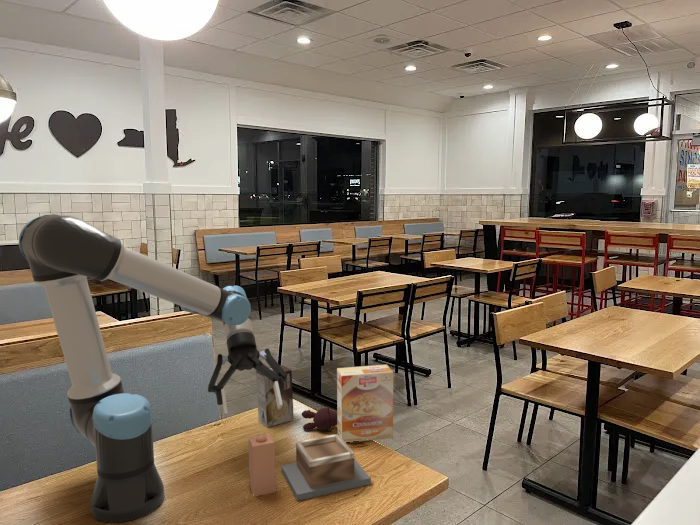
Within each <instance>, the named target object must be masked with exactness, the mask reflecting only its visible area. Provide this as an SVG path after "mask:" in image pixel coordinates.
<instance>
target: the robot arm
mask: <svg viewBox="0 0 700 525" xmlns="http://www.w3.org/2000/svg"><path fill="white" fill-rule="evenodd" d="M18 247H19V250H20V253H21V254H22V256H23V257H24V258H25V259H26V261H27V262H28V265H29V268H30V273H31V276H32V278H33V282H34V283H36V284H37V285H40V286H41V287H43V288H44V291H45V295H46V298H47V302H48V306H49V309H50V312H51V315H52V319H53V323H54V326H55V327H54V328H55V329H56V334H57V337H58V340H59V344H60V348H61V350H62V353H63V358H64V362H65V364H66V368H67V371H68V374H69V378H70V379H69V380H70V381H71V382H70V383H71V386H70V388H69V389H68V390H67V394H66V395H67V398H68V402H69V405H68V417H69V420H70V423H71V424H72V427H73V428H74V430H76V431H77V432H78V433H79V434H80V435H82V436H83V437H84V439H86V440H87V441H88V442H90V444H91V445H92V446H93V447H94V449H95V459H96V468H97V469H96V473H97V475H96V476H97V477H96V480H95V484H94V487H93V490H92V491H93V492H92V494H91V498H90V512H91V515H93V516H94V517H95V518H96V519H95V518H94V517H93V516H92V517H93V518H94V519H95V520H97V519H98V520H97V521H99V520H101V521H100V522H103V521H104V522H103V523H110V522H113V523H112V524H115V523H124V522H129V521H133V520H137V519H140V518H142V517H144V516H147V515H148V514H150V513H152V512H153V511H155V510H156V509H157V508H159V507H160V505H161V504H162V503H163V501H164V499H165V485H164V482H163V480H162V478H161V476H160V473H159V471H158V469H157V467H156V465H155V453H154V452H155V451H154V434H153V430H154V429H153V412H152V409H151V403H150V402H149V400H148V399H147V398H146V397H145V396H143V395H140V394H137V393H135V394H132V393H127V392H126V393H125V390H124V386H123V383H122V379H121V376H120V375H118V374H116V373H113V372H112V368H111V364H110V361H109V357H108V354H107V350H106V347H105V342H104V339H103V335H102V331H101V326H100V324H99V320H98V316H97V313H96V308H95V306H94V301H93V297H92V294H91V290H90V287H89V283H88V282H89V281H88V278H91V279H95V281H96V280H97V281H99V282H103V281H106V280H111V281H113V282H115V283H119V284H121V285H125V286H127V287H130V288H131V289H135V290H137V291H140V292H142V293H145V294H148V295H150V296H153V297H156V298H159V299H161V300H164V301H167V302H169V303H172V304H175V305H178V306H179V307H180V308H181V310H182V311H184V312H188V313H190V314H196V315H198V316H203V317H206V318H210V319H213V320H217V321H219V322H221V323H223V328H224V333H225V334H224V336H225V340H226V347H227V352H228V353H227V355H223V354H222V353H218V354H217V358H216V366H215V367H214V370H213V371H212V372H213V373H212V374H211V375H212V376H211V378H210V381H209V383H208V385H207V392H208V393H214V395H215V397H216V403H217V405H218V406H221V408H222V409H221V410H222V415H223V419H228V415H229V411H228V403H227V399H226V392H225V388H224V387H225V386H226V384H228V382H229V380H230V378H232V376H233V375H234V374H235V372H236V371H239V372H242V371H245V370H252V369H254V370H255V371H256V370H257V371H259V372H261V373H262V374H263V375H265V376H266V377H267V378H269V379H270V380H271V381H272V382H274V385H273V387H274V392H275V397H276V402H277V406H278V409H281V408H282V405H283V403H282V399H281V395H283V392H284V390H283V386H282V382H285V381H286V379H287V376H288V375H287V374H286V372H285V371H284V370H283V369H282V368H281V364H279V363H278V361H277V360H276V359H275V357H273V356H272V353H271V351H270V349H269V348H265V349H264V350H262V351H259V350H258V348H257V342H256V337H255V335H254V333H255V332H254V327H253V324H252V322H253V321H252V318H251V311H252V310H251V309H252V307H251V303H250V301H249V300H248V297H247V294H246V291H245V290H244V288H243V287H241V286H239V285H227V286H225V287H223V288H221V287H219V286H218V285H216V284H215V285H214V284H212V283H211V282H208V281H205V280H204V279H201V278H199V277H197V276H194V275H191V274H189V273H187V272H185V271H182V270H179V269H178V268H175V267H173V266H170V265H168V264H166V263H163V262H161V261H159V260H156V259H155V258H152V257H150V256H147V255H145V254H143V253H140V252H138V251H135V250H134V249H131V248H129V247H127V246H125V245H124V243H123V240H121V239H120V238H117V237H116V236H113V235H111V234H109V233H107V232H105V231H103V230H101V229H99V228H98V227H96V226H93V225H92V224H90V223H89V222H86V221H84V220H82V219H81V218H78V217H75V216H71V215H59V214H54V213H52V214H43V215H41V216H37V217H35V218H33V219H31V220H30V221H28V222H27V223H26V224H25V225H24V226H23V228H21V231H20V233H19V237H18ZM260 358H262V360H265V362H266V363H267V365H268V366H269V367H268V366H267V365H265V364H264V363H263V362H262V360H261V359H260ZM226 362H228V363H229V364H230V366H229V367H228V369H227V370H226V372H225V373H224V375H223V376H222V378H221V379H220V380H219V382H218V383H217V385H216V382H217V381H218V378H219V376H220V372H221V370H222V365H223V366H224V365H225V363H226ZM269 368H272V369H273V371H274V372H273V371H272V370H271V369H269ZM114 522H115V523H114Z"/></svg>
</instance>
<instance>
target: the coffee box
mask: <svg viewBox="0 0 700 525" xmlns="http://www.w3.org/2000/svg"><path fill="white" fill-rule="evenodd" d="M280 366H281V368H282V369H283V370H284V371H285V372H286V374H287V375H288V376H287V379H286V381H285V382H282V386H283V390H284V392H283V395H281V399H282V403H283V405H282V408H281V409H278V406H277V402H276V397H275V392H274V387H273V385H274V382H272V381H271V380H270V379H269V378H267V377H266V376H265V375H263V374H262V373H261V372H259V371H257V370H255V372H256V392H257V393H256V394H257V414H258V415H257V416H258V417H257V419H258V421H259V423H261V424H262V426H265V427H266V428H271V427H274V426H276V425H277V424H278V425H280V424H284V422H285V423H288V422H287V421H289V422H291V421H290V420H292V421H294V420H295V419H294V418H295V417H294V400H293V399H294V398H293V396H294V394H293V374H292V372H293V370H292V369H291V368H289V367H287V366H285V365H283V364H280ZM268 368H269V369H271V370H272V371H273V369H272V368H271V367H268ZM273 372H274V371H273ZM293 419H294V420H293Z"/></svg>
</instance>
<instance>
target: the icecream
mask: <svg viewBox="0 0 700 525" xmlns="http://www.w3.org/2000/svg"><path fill="white" fill-rule="evenodd" d="M301 416H302V418H305V419H307V420H308V419H309V420H310V419H312V421H311V422H307V423H305V424H304V425H303V426H302V429H303V431H305V430H310V431H312V430H314V429H316V428H317V429H318V430H320V431H324V432H325V431H326V432H328V431H329V432H331V431H330V429H331V430H332V428H333V427H337V410H333V409H330V407H329V406H327V407H323V408H320V409H318V410H317V411H316V412H314V411H311V410H310V409H308V410H303V411H302V412H301ZM327 430H328V431H327Z"/></svg>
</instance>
